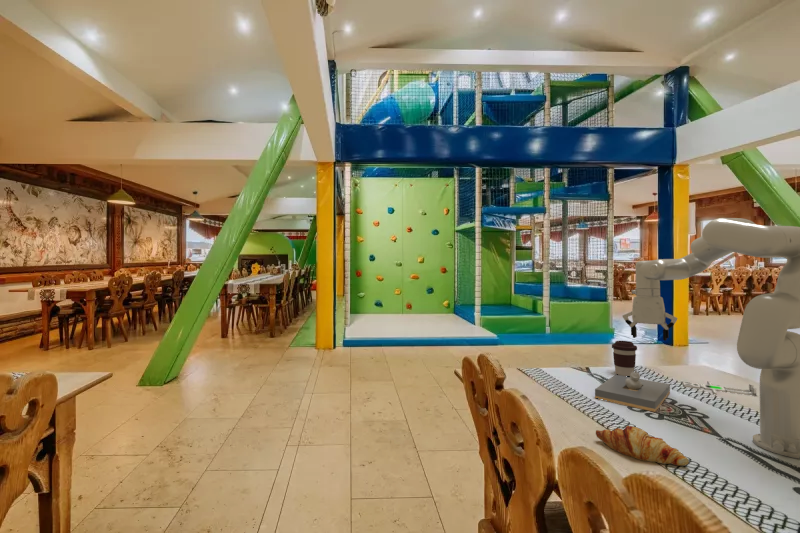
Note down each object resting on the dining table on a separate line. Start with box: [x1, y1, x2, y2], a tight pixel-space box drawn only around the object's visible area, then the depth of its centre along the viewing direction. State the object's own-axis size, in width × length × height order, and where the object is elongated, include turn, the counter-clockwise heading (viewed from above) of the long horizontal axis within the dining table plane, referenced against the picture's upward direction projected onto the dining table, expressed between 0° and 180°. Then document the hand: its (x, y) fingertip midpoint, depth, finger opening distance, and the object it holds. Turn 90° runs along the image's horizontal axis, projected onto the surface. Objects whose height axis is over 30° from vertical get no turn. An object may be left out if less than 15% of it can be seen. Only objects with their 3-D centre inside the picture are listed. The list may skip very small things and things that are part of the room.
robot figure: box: [681, 381, 757, 397], centre depth 149 cm, size 16×3×22 cm
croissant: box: [595, 425, 690, 466], centre depth 99 cm, size 21×10×8 cm, turn 46°
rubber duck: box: [625, 369, 642, 390], centre depth 142 cm, size 5×7×8 cm
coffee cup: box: [611, 340, 638, 376], centre depth 170 cm, size 10×10×15 cm
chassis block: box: [594, 374, 671, 413], centre depth 142 cm, size 26×19×4 cm
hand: (649, 338), depth 140 cm, fingers open, 9 cm apart
